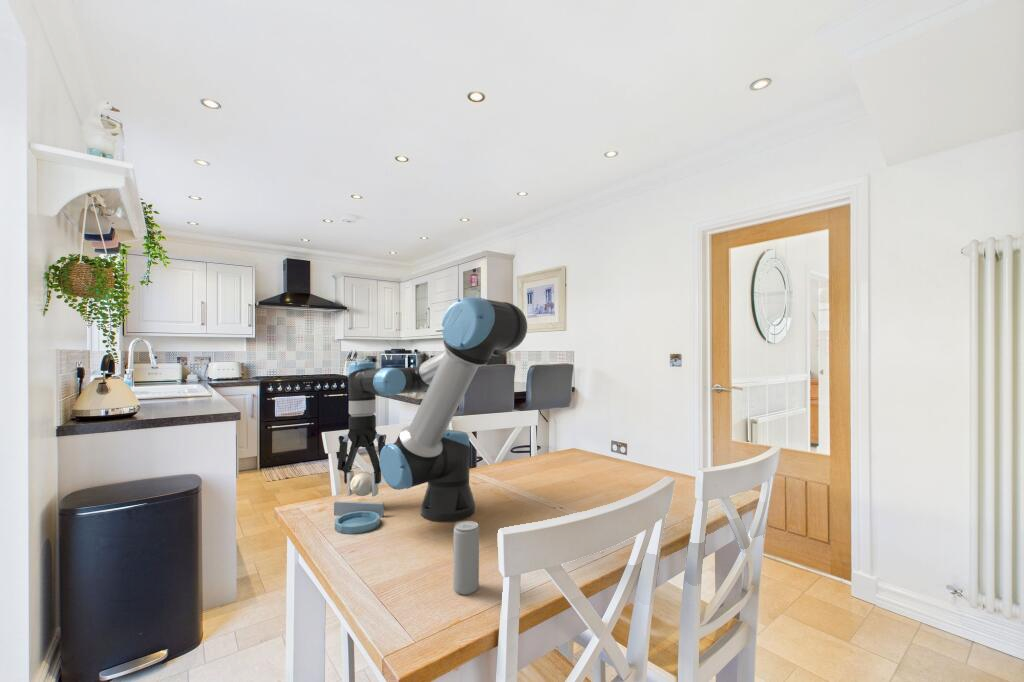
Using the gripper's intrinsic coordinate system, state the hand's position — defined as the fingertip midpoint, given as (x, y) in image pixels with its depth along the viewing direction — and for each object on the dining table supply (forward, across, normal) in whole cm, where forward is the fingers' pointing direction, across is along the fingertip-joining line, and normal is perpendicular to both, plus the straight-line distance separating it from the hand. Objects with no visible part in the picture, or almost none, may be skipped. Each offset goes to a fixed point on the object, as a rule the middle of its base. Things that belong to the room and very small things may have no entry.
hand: (362, 494), depth 128 cm
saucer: (+4, -4, +12) cm, 13 cm away
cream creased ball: (+1, 0, 0) cm, 1 cm away
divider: (+4, -1, +5) cm, 7 cm away
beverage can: (+6, -39, +40) cm, 56 cm away
